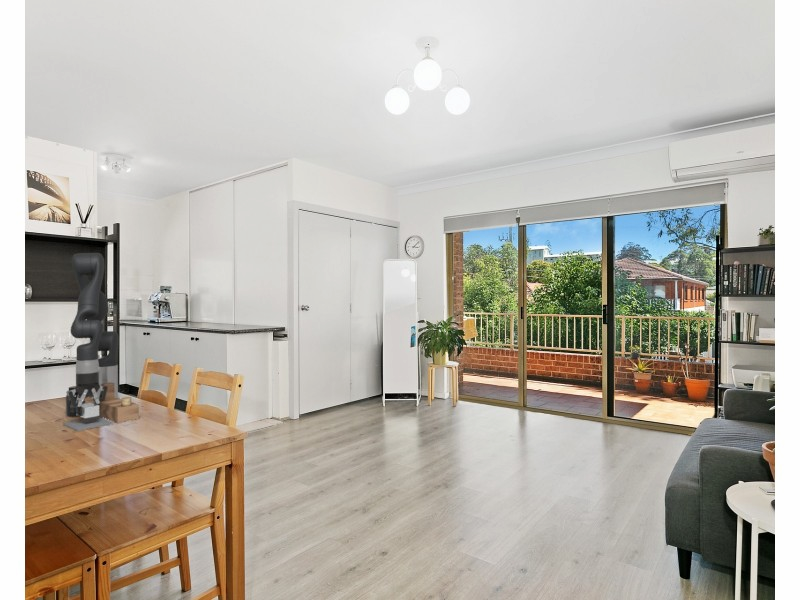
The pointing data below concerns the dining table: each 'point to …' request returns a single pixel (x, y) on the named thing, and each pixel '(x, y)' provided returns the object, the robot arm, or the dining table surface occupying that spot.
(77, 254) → the robot arm
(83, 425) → the mat
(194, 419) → the dining table surface
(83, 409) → the white rectangular block
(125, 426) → the dining table surface
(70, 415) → the supplement bottle
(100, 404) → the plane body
